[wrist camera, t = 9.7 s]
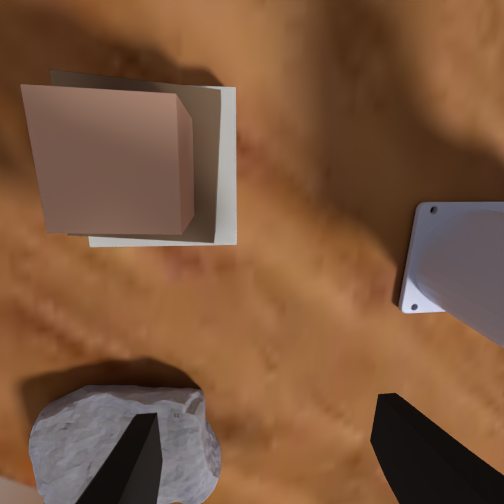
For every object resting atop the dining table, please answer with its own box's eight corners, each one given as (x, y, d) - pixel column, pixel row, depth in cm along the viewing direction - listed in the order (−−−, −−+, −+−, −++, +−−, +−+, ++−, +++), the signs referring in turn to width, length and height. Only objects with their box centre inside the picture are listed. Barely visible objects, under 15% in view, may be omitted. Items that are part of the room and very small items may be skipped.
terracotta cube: (192, 119, 11) (175, 93, 8) (194, 215, 13) (181, 234, 9) (90, 113, 11) (20, 83, 7) (102, 213, 12) (46, 232, 8)
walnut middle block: (221, 103, 14) (220, 89, 11) (215, 231, 15) (214, 243, 13) (81, 87, 13) (49, 69, 10) (92, 224, 15) (67, 235, 12)
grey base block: (233, 99, 16) (235, 87, 13) (234, 234, 18) (236, 244, 16) (87, 93, 15) (62, 80, 13) (108, 236, 17) (90, 247, 15)
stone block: (51, 377, 21) (80, 490, 23) (3, 420, 17) (42, 561, 18) (203, 346, 23) (224, 456, 24) (198, 379, 18) (224, 514, 19)
